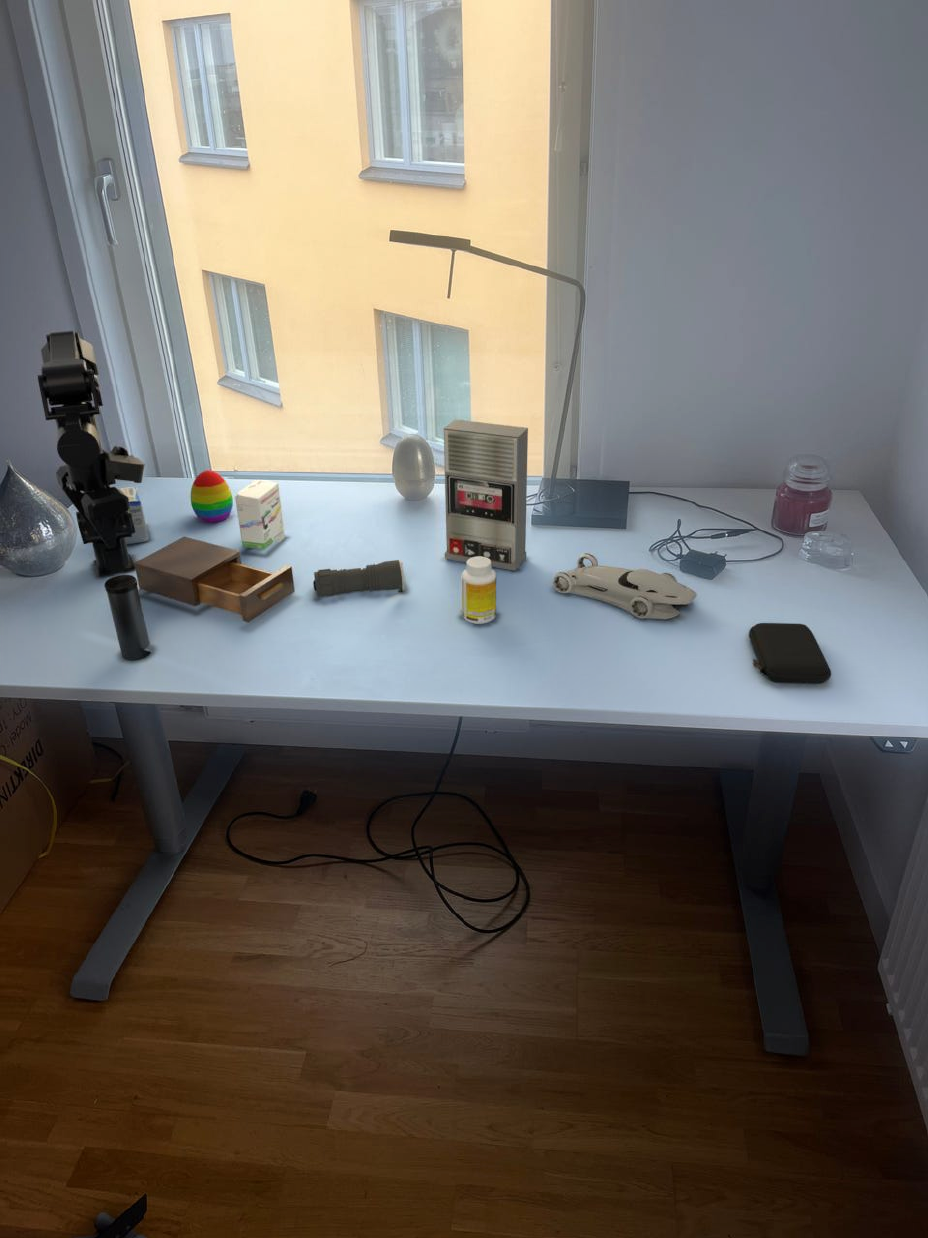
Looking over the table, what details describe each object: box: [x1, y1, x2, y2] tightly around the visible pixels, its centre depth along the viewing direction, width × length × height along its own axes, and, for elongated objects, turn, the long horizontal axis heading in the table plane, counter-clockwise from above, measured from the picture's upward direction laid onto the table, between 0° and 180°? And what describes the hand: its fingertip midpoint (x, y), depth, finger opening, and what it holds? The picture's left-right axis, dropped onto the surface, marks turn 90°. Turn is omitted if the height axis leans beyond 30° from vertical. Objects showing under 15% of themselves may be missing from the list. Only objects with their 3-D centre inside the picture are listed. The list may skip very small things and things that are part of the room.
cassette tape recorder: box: [443, 419, 529, 572], centre depth 166 cm, size 14×6×25 cm, turn 68°
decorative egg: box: [190, 469, 234, 523], centre depth 188 cm, size 8×8×10 cm
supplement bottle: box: [461, 556, 497, 625], centre depth 152 cm, size 6×6×10 cm
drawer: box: [196, 561, 296, 623], centre depth 157 cm, size 14×12×6 cm
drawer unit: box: [133, 536, 243, 607], centre depth 162 cm, size 13×12×6 cm
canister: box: [103, 574, 152, 662], centre depth 143 cm, size 5×5×13 cm
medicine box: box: [118, 486, 149, 545], centre depth 182 cm, size 8×4×9 cm, turn 23°
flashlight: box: [312, 559, 406, 598], centre depth 160 cm, size 15×5×5 cm, turn 102°
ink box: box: [234, 479, 286, 550], centre depth 176 cm, size 8×5×12 cm, turn 163°
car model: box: [552, 552, 698, 620], centre depth 158 cm, size 11×24×5 cm, turn 55°
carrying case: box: [748, 622, 832, 685], centre depth 141 cm, size 11×3×15 cm
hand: (103, 537), depth 153 cm, fingers open, 9 cm apart
